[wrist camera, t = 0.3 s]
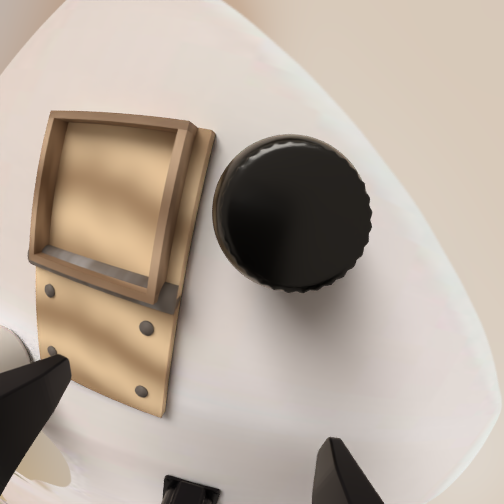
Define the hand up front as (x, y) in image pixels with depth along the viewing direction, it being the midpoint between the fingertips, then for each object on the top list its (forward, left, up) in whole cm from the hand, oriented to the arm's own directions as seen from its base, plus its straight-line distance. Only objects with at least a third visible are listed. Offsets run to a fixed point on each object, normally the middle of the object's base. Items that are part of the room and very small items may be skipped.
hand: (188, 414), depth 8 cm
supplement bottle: (+6, -2, -14) cm, 16 cm away
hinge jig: (-2, +11, -14) cm, 18 cm away
